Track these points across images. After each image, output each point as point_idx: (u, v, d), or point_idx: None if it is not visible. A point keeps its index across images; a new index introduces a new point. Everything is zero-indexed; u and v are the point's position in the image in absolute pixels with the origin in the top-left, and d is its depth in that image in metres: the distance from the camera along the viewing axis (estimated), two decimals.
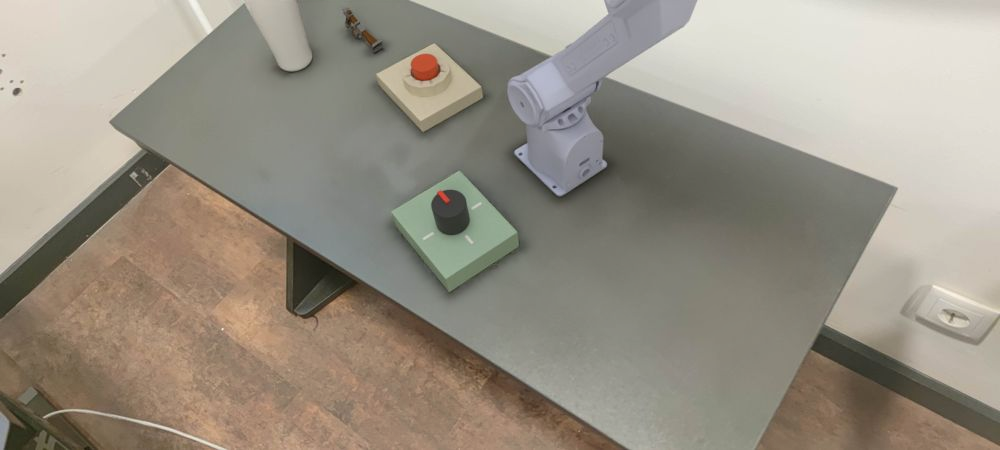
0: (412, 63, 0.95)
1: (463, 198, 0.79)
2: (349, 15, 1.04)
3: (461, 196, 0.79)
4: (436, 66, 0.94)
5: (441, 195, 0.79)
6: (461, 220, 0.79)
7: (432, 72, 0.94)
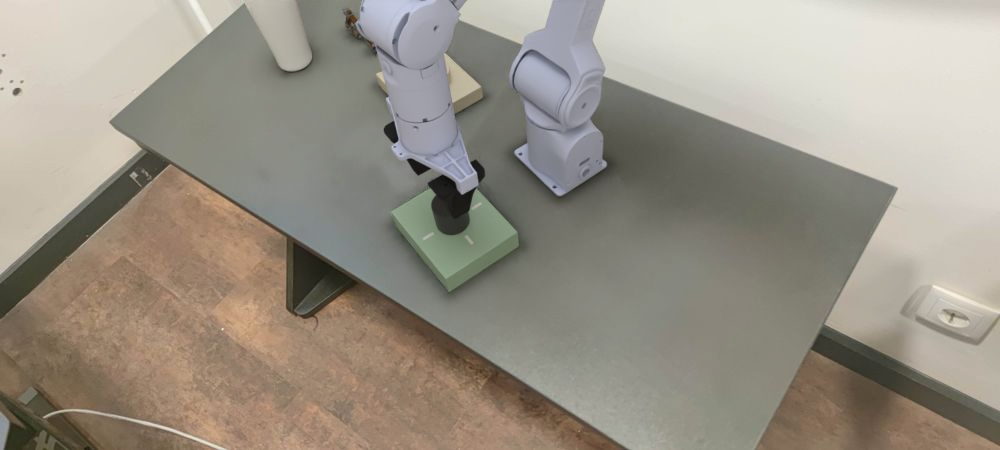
0: None
1: None
2: (349, 15, 1.04)
3: None
4: None
5: None
6: (461, 220, 0.79)
7: None
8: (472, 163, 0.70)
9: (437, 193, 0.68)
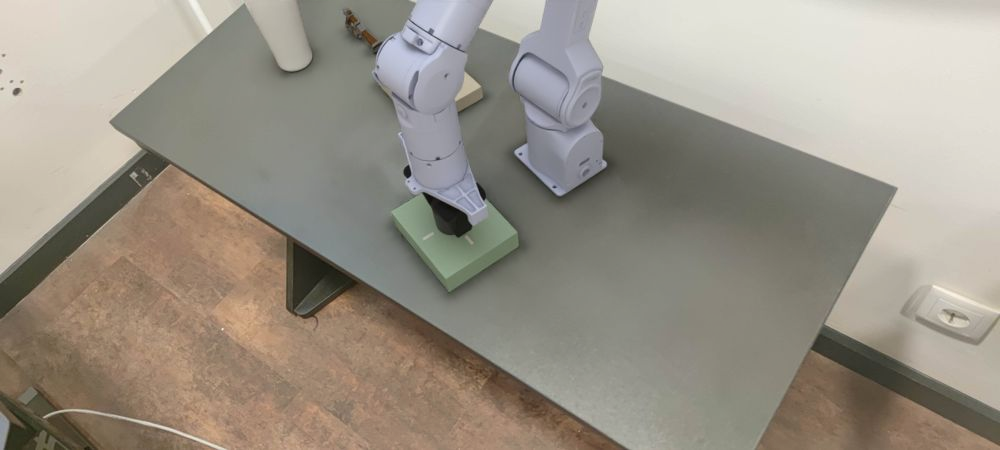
0: None
1: None
2: (349, 15, 1.04)
3: None
4: None
5: None
6: None
7: None
8: None
9: (442, 216, 0.73)
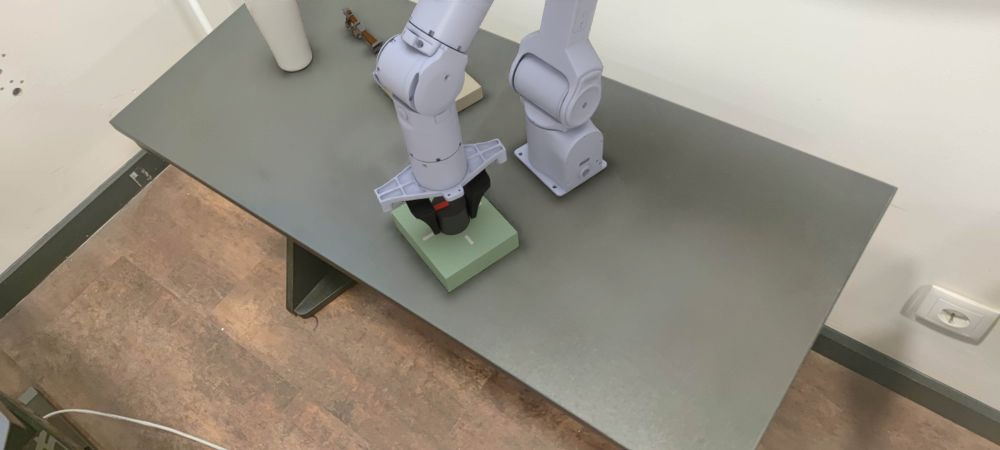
0: None
1: None
2: (349, 15, 1.04)
3: None
4: None
5: (438, 206, 0.78)
6: None
7: None
8: None
9: (486, 184, 0.75)
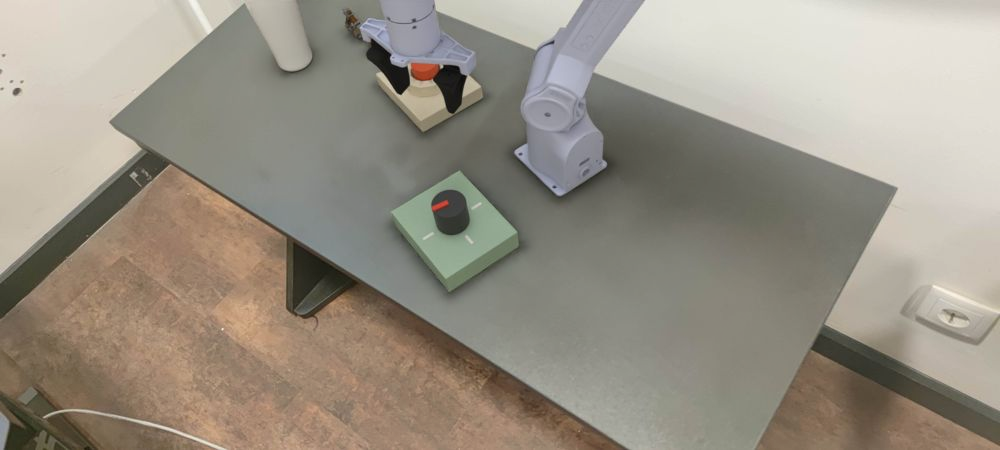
0: (412, 63, 0.95)
1: (446, 191, 0.80)
2: (349, 15, 1.04)
3: (443, 192, 0.80)
4: (436, 66, 0.94)
5: (438, 206, 0.78)
6: None
7: (432, 72, 0.94)
8: None
9: (446, 82, 0.77)
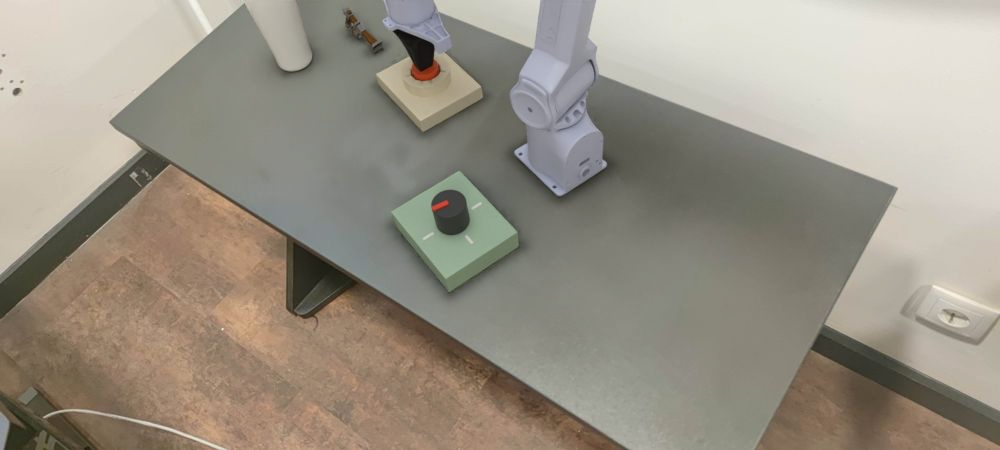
0: (413, 67, 0.95)
1: (446, 191, 0.80)
2: (349, 15, 1.04)
3: (443, 192, 0.80)
4: (437, 70, 0.95)
5: (438, 206, 0.78)
6: None
7: (433, 75, 0.95)
8: None
9: (405, 40, 0.88)
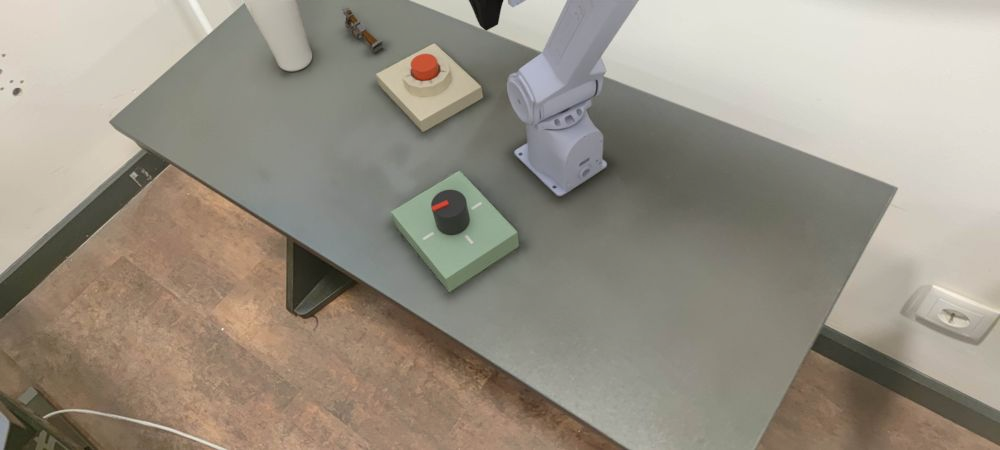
0: (412, 63, 0.95)
1: (446, 191, 0.80)
2: (349, 15, 1.04)
3: (443, 192, 0.80)
4: (436, 66, 0.94)
5: (438, 206, 0.78)
6: None
7: (432, 72, 0.94)
8: None
9: None
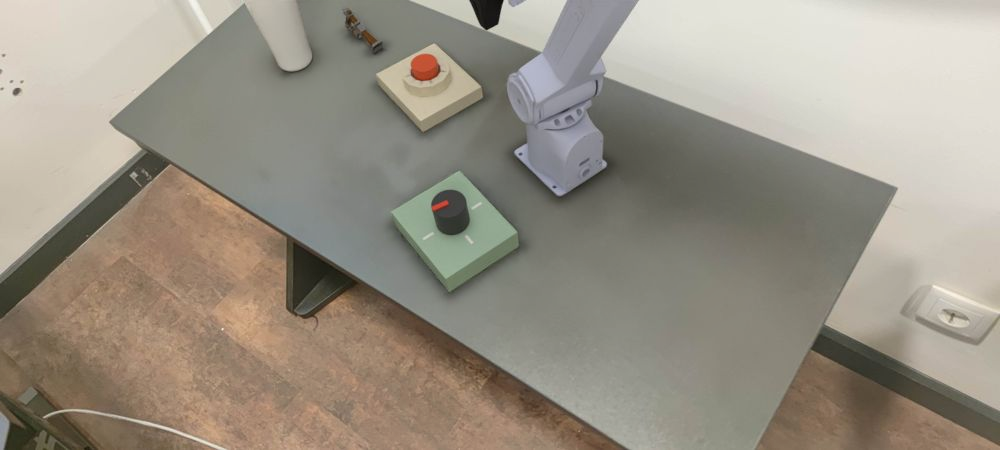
0: (412, 63, 0.95)
1: (446, 191, 0.80)
2: (349, 15, 1.04)
3: (443, 192, 0.80)
4: (436, 66, 0.94)
5: (438, 206, 0.78)
6: None
7: (432, 72, 0.94)
8: None
9: None
